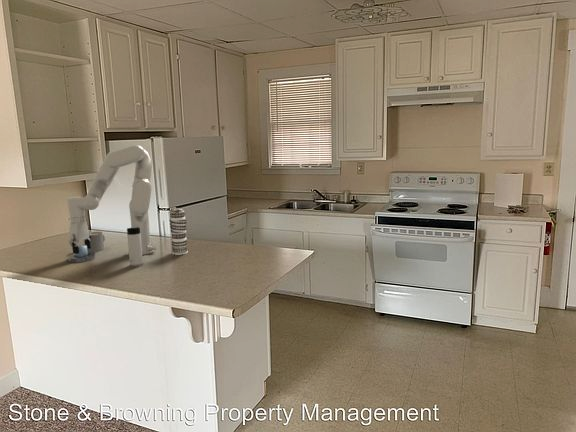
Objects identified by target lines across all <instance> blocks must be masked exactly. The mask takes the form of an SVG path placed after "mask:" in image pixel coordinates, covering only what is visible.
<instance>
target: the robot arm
mask: <svg viewBox="0 0 576 432" xmlns="http://www.w3.org/2000/svg"><path fill="white" fill-rule="evenodd" d="M132 164H135V170H134V176H133V181H132V186H131V188H132V190H131V199H130V201H129V204H128V205H129V206H128V208H129V217H130V228H136V227H140V234H141V246H142V256H144V255H149V254H153V253H154V251H157V249H158V248H157V245H153V243H151V232H150V220H149V209H150V204H151V202H150V201H151V198H152V197H151V196H152V184H151V177H152V167H153V165H152V164H153V163H152V159H151V156H150V154H149V153H148V151H146V149H144V148H143V147H142V146H141V145H139V144H131V145H130V146H128V147H127V146H126V147H124V148H122V149H119V150H118V149H117V150H113V151H109V152H108V153H107V154H106V156H105V158H104V160H103V161H102V163H101V166H100V167H99V168H98V171H97V173H96V174H95V177H94V180H93V182H92V184H91V186H90V188H89V190H88V192H86V193H87V194H86V196H84V197H82V196H79V195H77V196H70V197H68V198H67V207H68V213H69V214H68V215H69V221H70V224H69V238H68V243H69V245H70V247H72V248H71V249H72V254H79V248H78V246H79V242H83V241H84V240H85V241H84V245H87V249H90V248H91V244H90V241H91V234H92V232H93V231H90V230H89V226H88V222H87V218H86V211H93V210H96V209H97V208H99V206H100V202H101V200H102V198H103V197H104V194H105V193H106V191H107V189H108V188H109V187H110V186H111V184H112V183H113V182H114V179H115V177H116V175H117V173H118V171H119V170H120V168H121V167H124V166H128V165H132Z"/></svg>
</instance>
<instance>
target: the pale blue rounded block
mask: <svg viewBox="0 0 576 432" xmlns="http://www.w3.org/2000/svg"><path fill="white" fill-rule="evenodd" d="M77 246H78V248H79V254H75V255H76V257H85V256H88V251H87V245H85V244H80V245H79V244H78V245H77Z"/></svg>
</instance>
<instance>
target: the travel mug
mask: <svg viewBox="0 0 576 432" xmlns="http://www.w3.org/2000/svg"><path fill="white" fill-rule="evenodd" d="M126 233H127V245H128V247H127V248H128V257H129V258H128V259H129V266H130V267H131V268H137V267H142V266H143V265H144V259H143V255H142V246H141V234H140V227H136V228H131V227H128V228H126Z"/></svg>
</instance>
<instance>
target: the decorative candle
mask: <svg viewBox="0 0 576 432" xmlns="http://www.w3.org/2000/svg"><path fill="white" fill-rule="evenodd" d="M169 213H170V219H169V222H170V223H169V226H170V227H169V228H170V234H171V243H172V244H171V246H172V247H171V249H172V250H171V251H172V255H174V254H175V255H176V256H180V255H182V254H183V255H187V254H188V252H189V251H188V249H189V248H188V247H189V246H188V240H187V225H186V224H187V219H186V215H185V210H184V209H183V208H181V207H176V208H175V207H174V208H172V209H171V210H170V211H169Z"/></svg>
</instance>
